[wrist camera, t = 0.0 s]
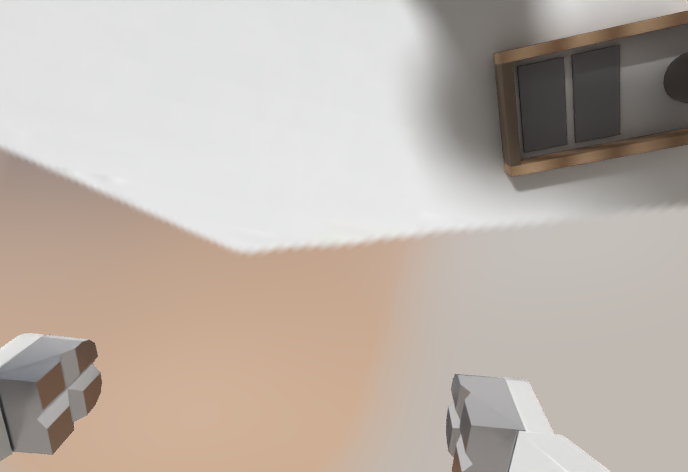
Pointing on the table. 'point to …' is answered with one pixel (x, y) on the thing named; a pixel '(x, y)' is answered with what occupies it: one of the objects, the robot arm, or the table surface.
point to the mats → (588, 95)
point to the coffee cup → (677, 79)
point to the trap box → (585, 154)
